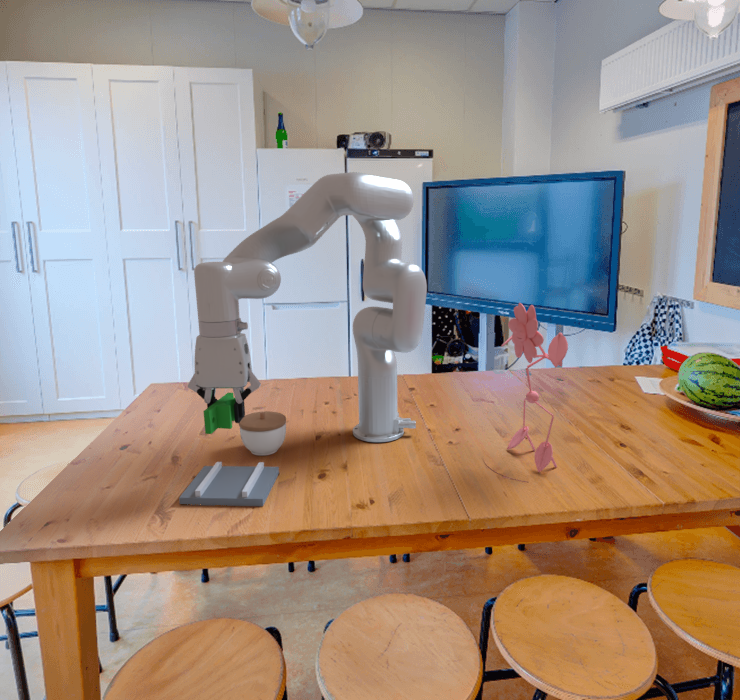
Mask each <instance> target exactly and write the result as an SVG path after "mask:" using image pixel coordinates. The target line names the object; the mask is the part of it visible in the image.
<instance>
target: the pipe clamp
mask: <svg viewBox="0 0 740 700" xmlns="http://www.w3.org/2000/svg"><path fill="white" fill-rule="evenodd" d="M217 400H218V401H216V402H215V403H214V404H212V405H211V406H210V407H208V408H206V409H205V410H203V423H204V431H205V434H206V435H212V434H213V433H214V432H216V431H217V430H218V429H224V430H225V429H229V430H231V429H232V428H233V422H235V416H234V403H235V402H236V401H235V400H236V399H235V395H234V392H226V393H225V394H224V395H223V396H221V397H220V398H219V399H217Z"/></svg>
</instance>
